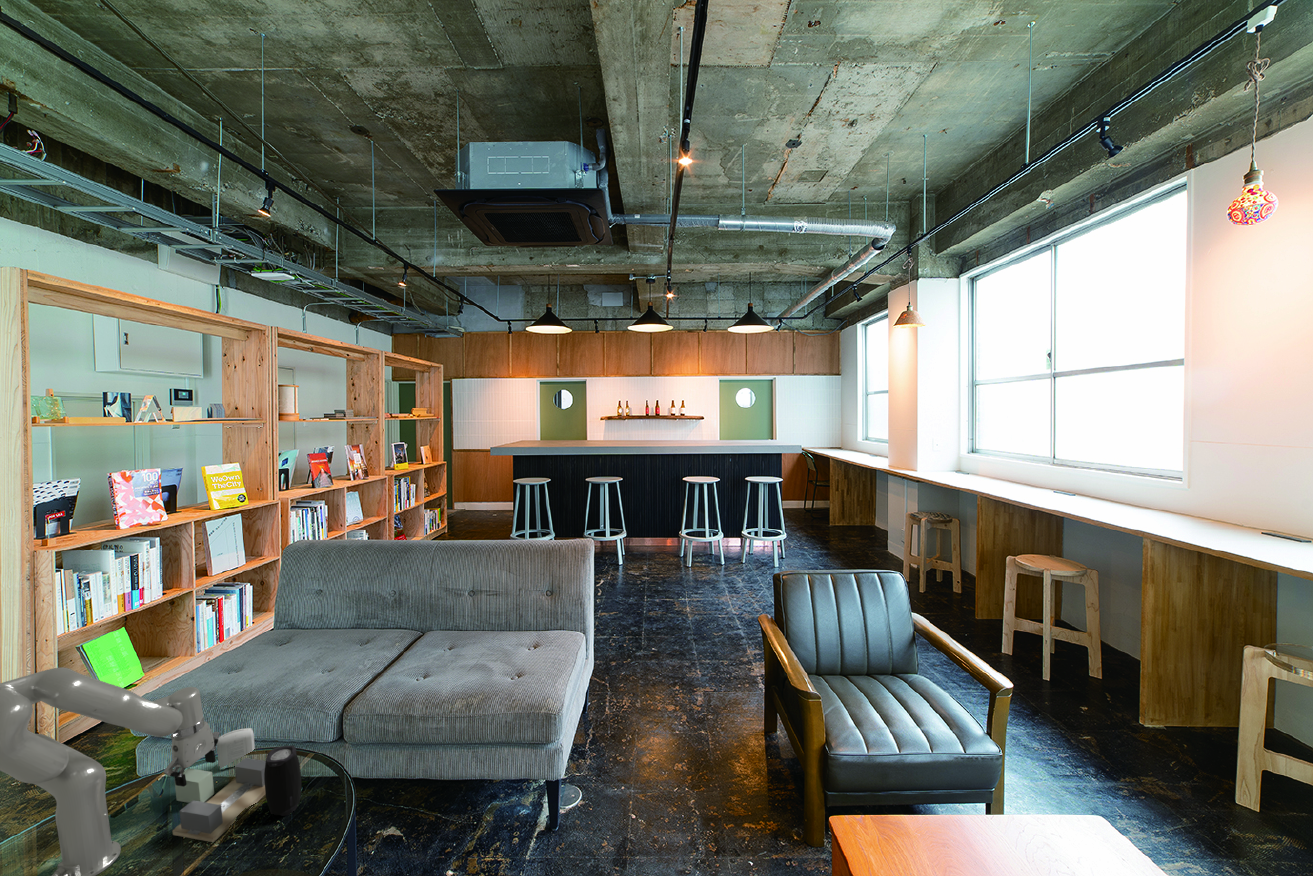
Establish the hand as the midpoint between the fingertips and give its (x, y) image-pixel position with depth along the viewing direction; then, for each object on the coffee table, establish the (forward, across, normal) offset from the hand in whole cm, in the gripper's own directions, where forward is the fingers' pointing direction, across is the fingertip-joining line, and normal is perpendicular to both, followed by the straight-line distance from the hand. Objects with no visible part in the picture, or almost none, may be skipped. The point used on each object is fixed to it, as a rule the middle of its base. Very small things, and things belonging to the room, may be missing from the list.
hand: (196, 773), depth 175 cm
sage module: (+8, -1, 0) cm, 8 cm away
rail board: (+8, -2, -14) cm, 16 cm away
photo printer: (+9, +14, 0) cm, 16 cm away
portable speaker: (+8, 0, -31) cm, 32 cm away
